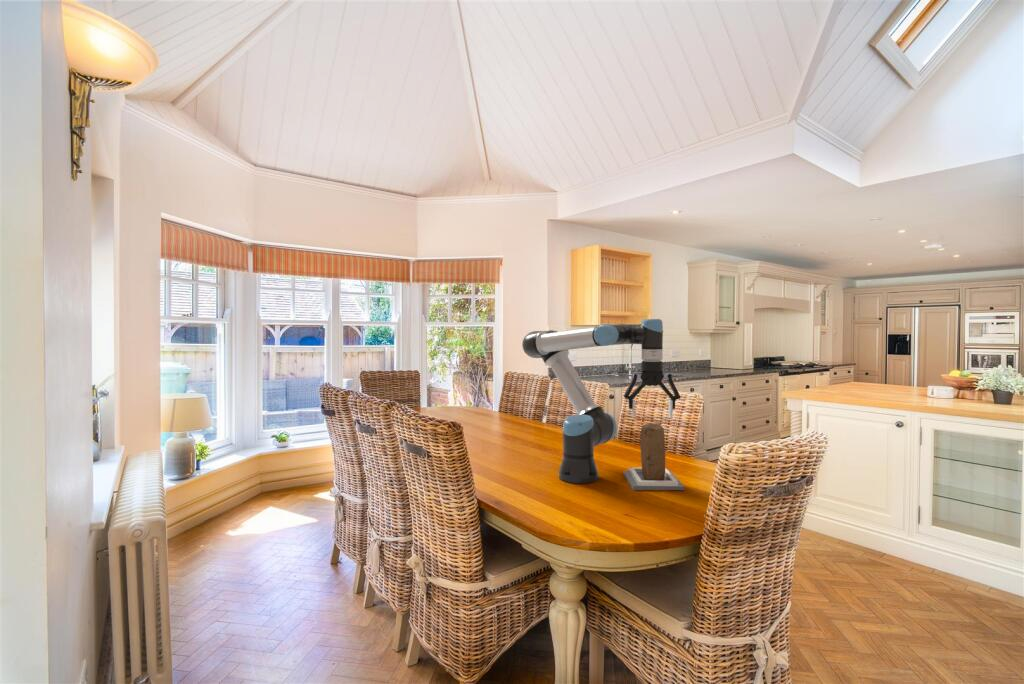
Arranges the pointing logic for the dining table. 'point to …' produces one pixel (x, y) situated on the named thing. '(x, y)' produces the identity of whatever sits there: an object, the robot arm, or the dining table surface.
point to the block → (653, 452)
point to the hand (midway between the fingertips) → (651, 417)
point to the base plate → (652, 481)
